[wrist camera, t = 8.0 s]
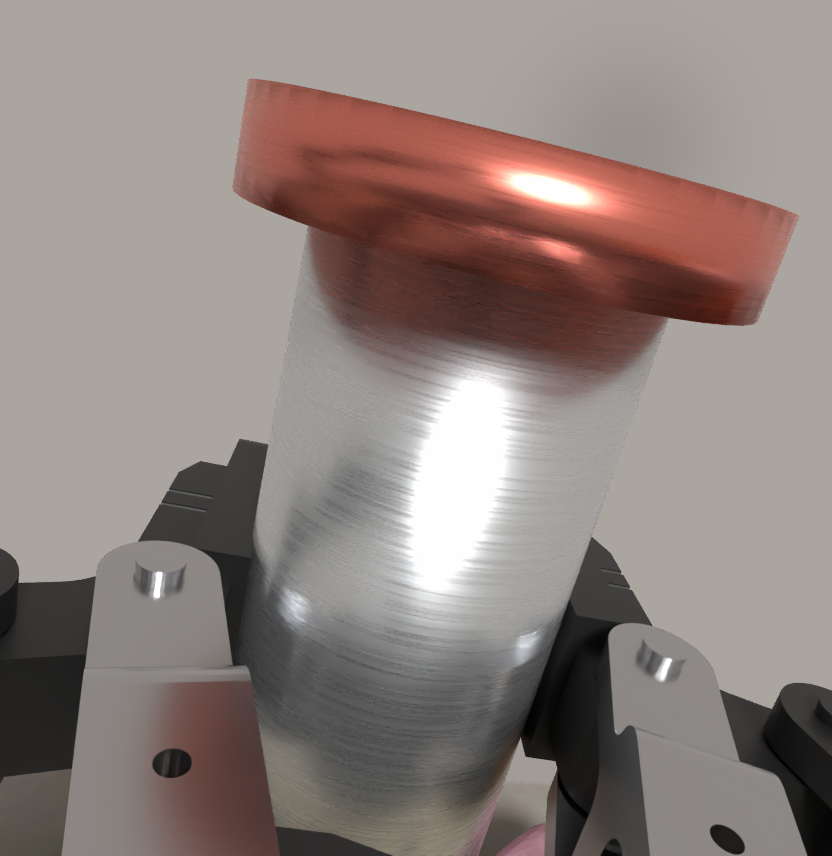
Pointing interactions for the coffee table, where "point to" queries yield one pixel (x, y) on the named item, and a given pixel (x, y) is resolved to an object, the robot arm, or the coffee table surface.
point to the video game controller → (527, 843)
